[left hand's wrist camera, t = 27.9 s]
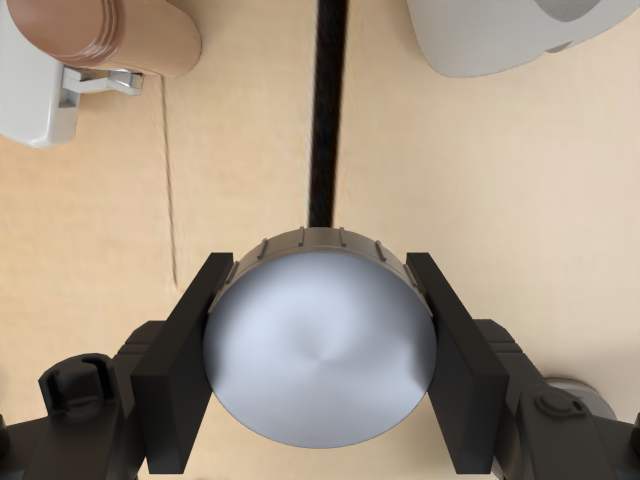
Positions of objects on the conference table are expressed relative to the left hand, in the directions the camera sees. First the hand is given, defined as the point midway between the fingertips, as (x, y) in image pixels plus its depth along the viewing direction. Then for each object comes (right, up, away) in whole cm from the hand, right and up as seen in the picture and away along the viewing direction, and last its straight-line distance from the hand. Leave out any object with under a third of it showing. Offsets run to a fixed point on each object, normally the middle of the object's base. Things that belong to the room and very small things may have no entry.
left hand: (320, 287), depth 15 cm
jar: (-13, +18, +19) cm, 29 cm away
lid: (0, -1, -4) cm, 4 cm away
